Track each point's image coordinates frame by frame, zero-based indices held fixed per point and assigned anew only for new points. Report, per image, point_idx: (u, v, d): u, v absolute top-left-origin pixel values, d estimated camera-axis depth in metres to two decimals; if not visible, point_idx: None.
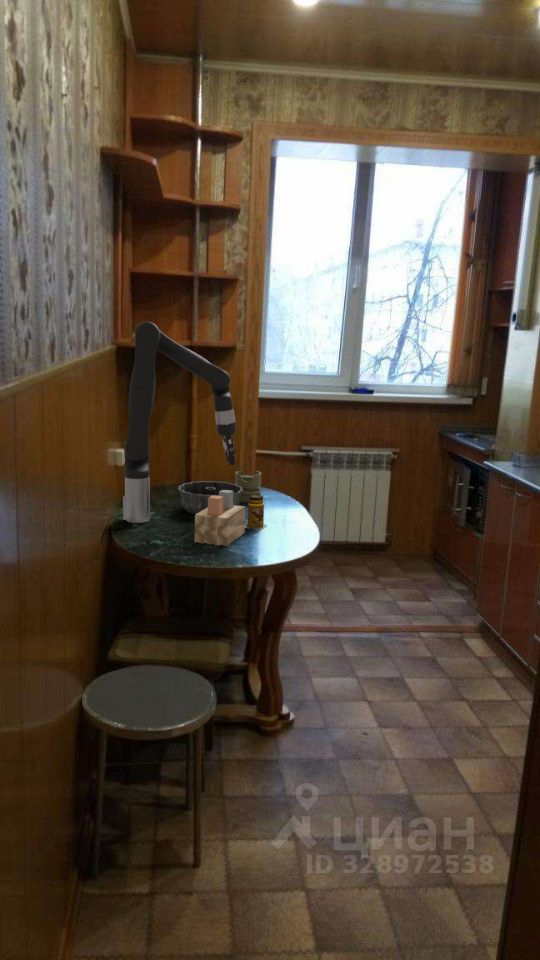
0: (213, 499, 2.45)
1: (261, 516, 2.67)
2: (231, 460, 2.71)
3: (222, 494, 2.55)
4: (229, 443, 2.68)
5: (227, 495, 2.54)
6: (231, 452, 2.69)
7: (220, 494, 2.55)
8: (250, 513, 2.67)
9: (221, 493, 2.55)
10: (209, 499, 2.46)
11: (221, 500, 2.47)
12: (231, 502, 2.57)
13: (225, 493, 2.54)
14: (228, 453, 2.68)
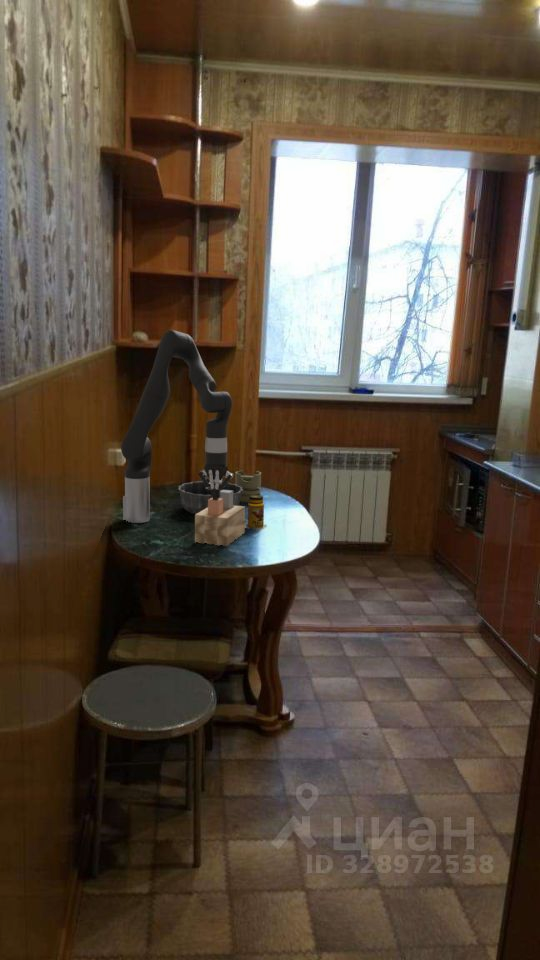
0: (213, 501, 2.45)
1: (261, 516, 2.67)
2: None
3: (222, 494, 2.55)
4: None
5: (227, 495, 2.54)
6: (207, 483, 2.47)
7: (220, 494, 2.55)
8: (250, 513, 2.67)
9: (221, 493, 2.55)
10: (209, 501, 2.46)
11: (221, 502, 2.47)
12: (231, 502, 2.57)
13: (225, 493, 2.54)
14: None
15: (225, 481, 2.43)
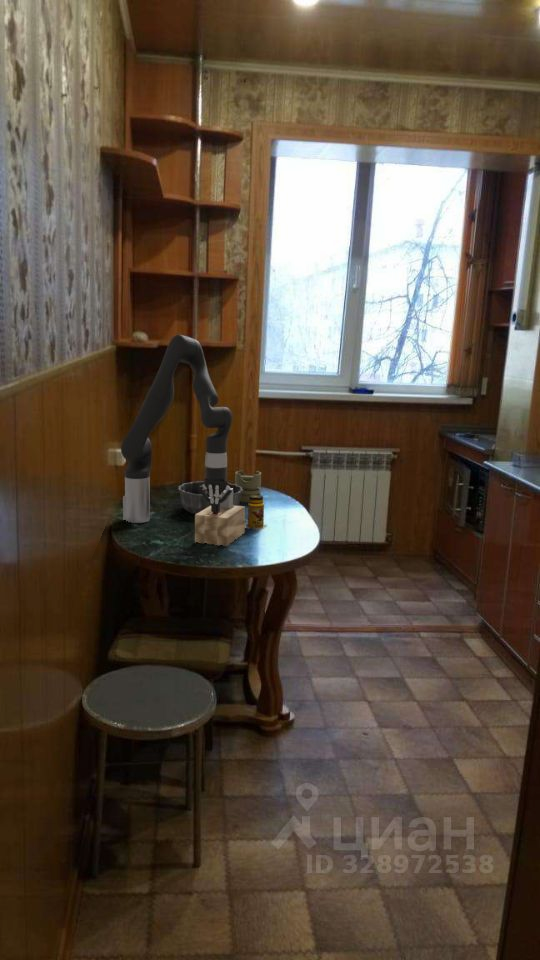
0: None
1: (261, 516, 2.67)
2: None
3: (222, 494, 2.55)
4: None
5: None
6: None
7: None
8: (250, 513, 2.67)
9: None
10: None
11: None
12: (231, 502, 2.57)
13: (225, 493, 2.54)
14: None
15: (225, 496, 2.44)
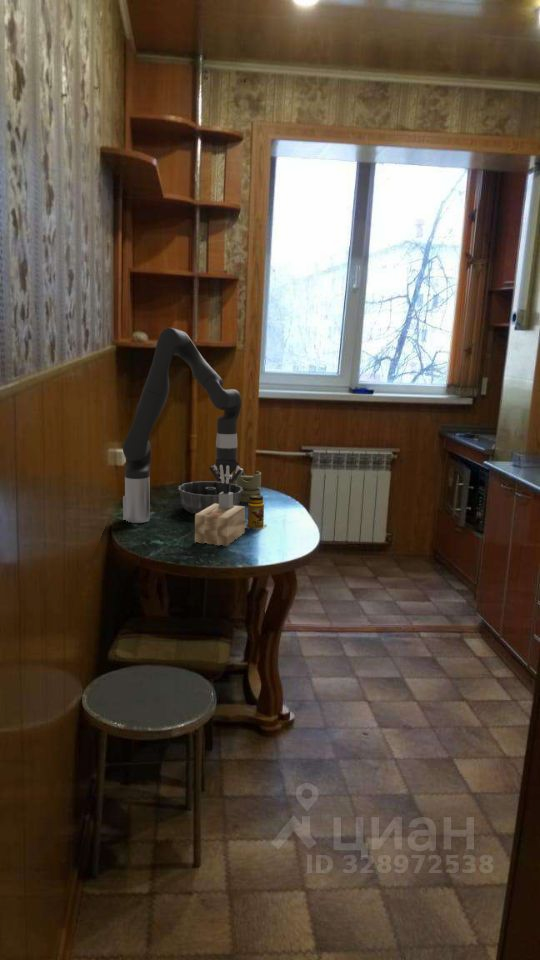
0: None
1: (261, 516, 2.67)
2: None
3: (222, 496, 2.55)
4: None
5: (227, 497, 2.54)
6: None
7: (220, 496, 2.55)
8: (250, 513, 2.67)
9: (221, 495, 2.55)
10: None
11: None
12: (231, 504, 2.57)
13: (225, 495, 2.54)
14: None
15: (235, 475, 2.53)
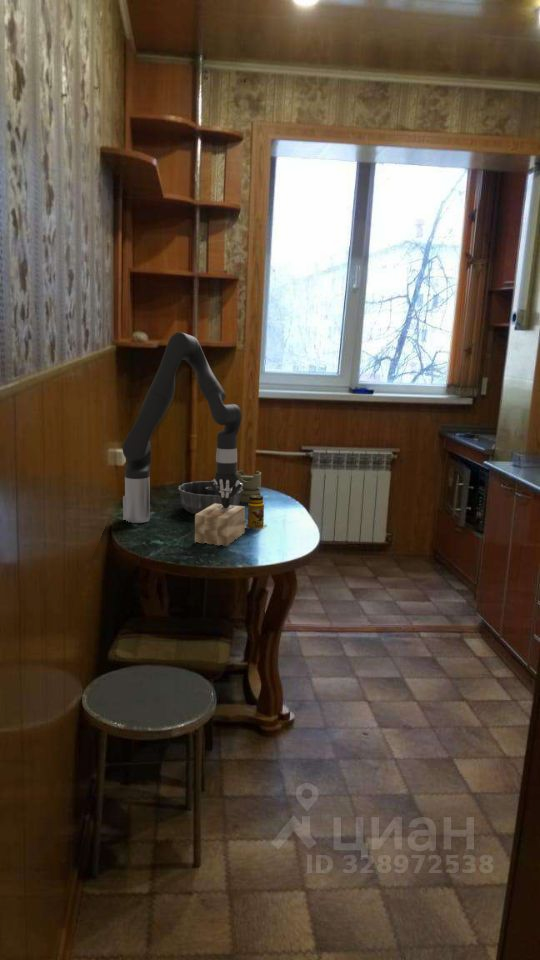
0: None
1: (261, 516, 2.67)
2: None
3: None
4: None
5: None
6: None
7: None
8: (250, 513, 2.67)
9: None
10: None
11: None
12: None
13: None
14: None
15: (235, 490, 2.54)
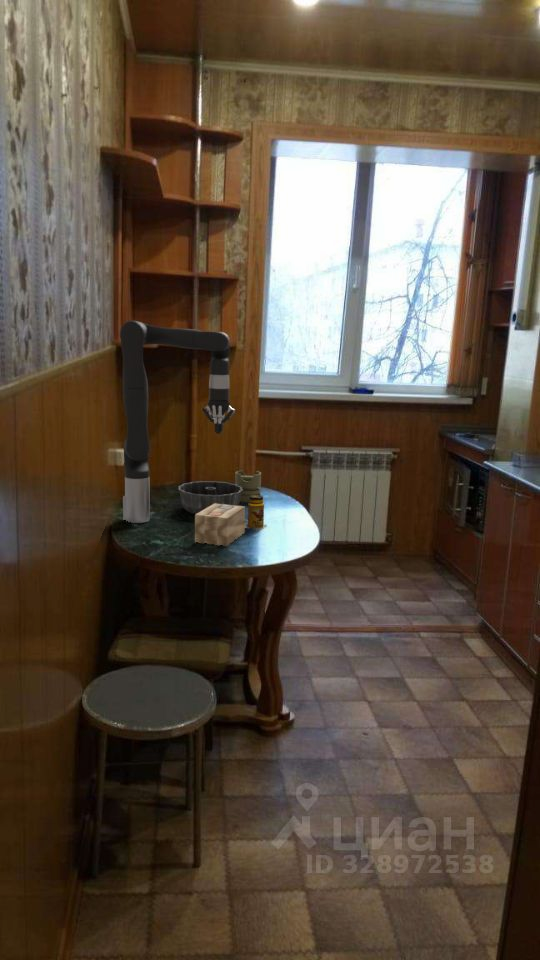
0: None
1: (261, 516, 2.67)
2: None
3: None
4: None
5: None
6: None
7: None
8: (250, 513, 2.67)
9: None
10: None
11: None
12: None
13: None
14: None
15: (227, 416, 2.62)
